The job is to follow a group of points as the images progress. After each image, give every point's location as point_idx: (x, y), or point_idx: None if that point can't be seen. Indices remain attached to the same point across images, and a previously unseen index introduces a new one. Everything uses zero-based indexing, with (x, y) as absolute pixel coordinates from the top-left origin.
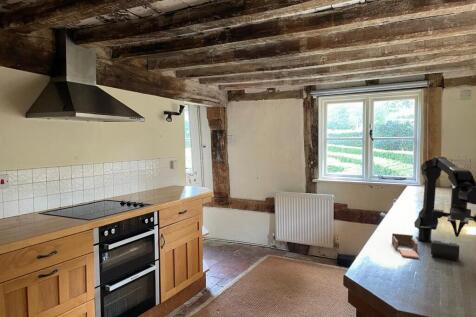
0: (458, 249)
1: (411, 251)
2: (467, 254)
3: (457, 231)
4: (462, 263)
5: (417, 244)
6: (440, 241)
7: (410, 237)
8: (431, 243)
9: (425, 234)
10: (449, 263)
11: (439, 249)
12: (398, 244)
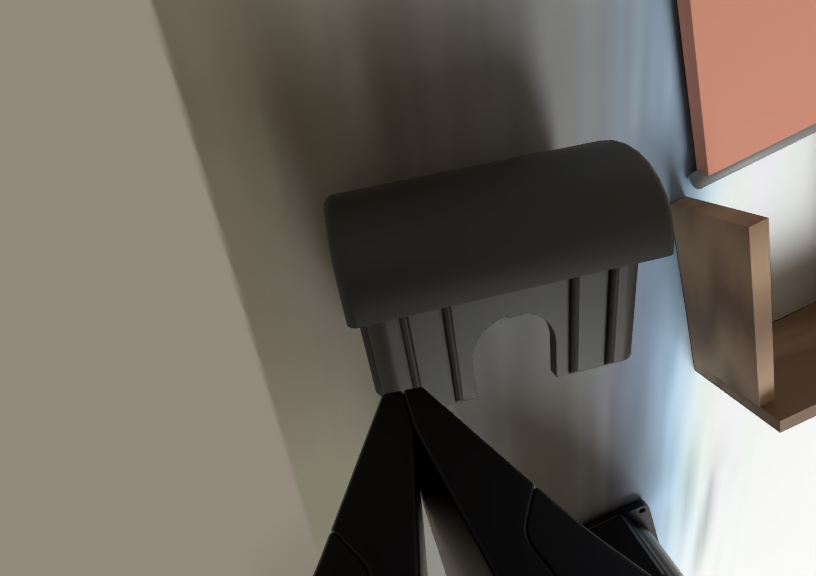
0: (336, 229)
1: (742, 126)
2: (323, 476)
3: (416, 472)
4: (290, 189)
5: (744, 224)
6: (563, 366)
7: (778, 398)
8: (664, 192)
9: (645, 567)
10: (389, 74)
11: (541, 160)
12: (791, 314)
